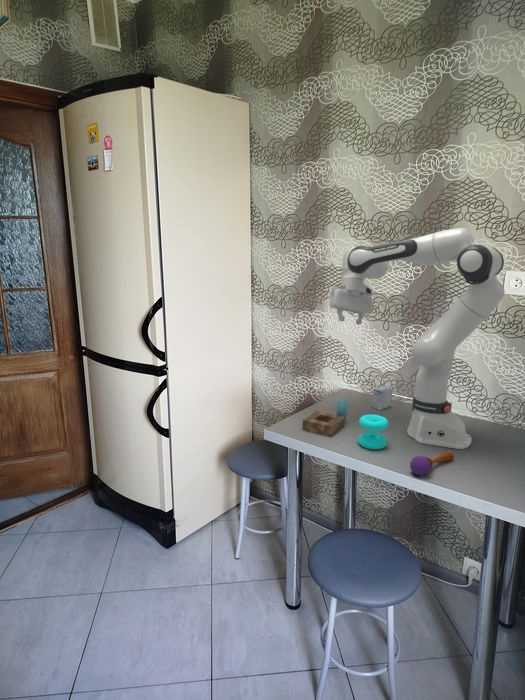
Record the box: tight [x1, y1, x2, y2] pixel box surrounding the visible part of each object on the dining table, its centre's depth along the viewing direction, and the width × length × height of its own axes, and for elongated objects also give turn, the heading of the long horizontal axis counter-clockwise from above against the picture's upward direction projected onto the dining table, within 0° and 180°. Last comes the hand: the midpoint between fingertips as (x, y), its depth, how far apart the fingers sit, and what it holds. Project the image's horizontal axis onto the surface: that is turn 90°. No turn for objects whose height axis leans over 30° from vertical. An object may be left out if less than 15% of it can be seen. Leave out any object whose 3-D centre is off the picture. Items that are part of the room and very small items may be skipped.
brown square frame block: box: [301, 410, 345, 438], centre depth 178 cm, size 12×12×4 cm
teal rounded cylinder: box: [335, 398, 348, 424], centre depth 184 cm, size 4×4×9 cm
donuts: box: [357, 413, 389, 450], centre depth 163 cm, size 10×10×10 cm
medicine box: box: [371, 385, 393, 411], centre depth 201 cm, size 8×4×9 cm, turn 130°
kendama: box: [409, 449, 455, 477], centre depth 147 cm, size 6×6×20 cm
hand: (350, 322), depth 182 cm, fingers open, 8 cm apart
